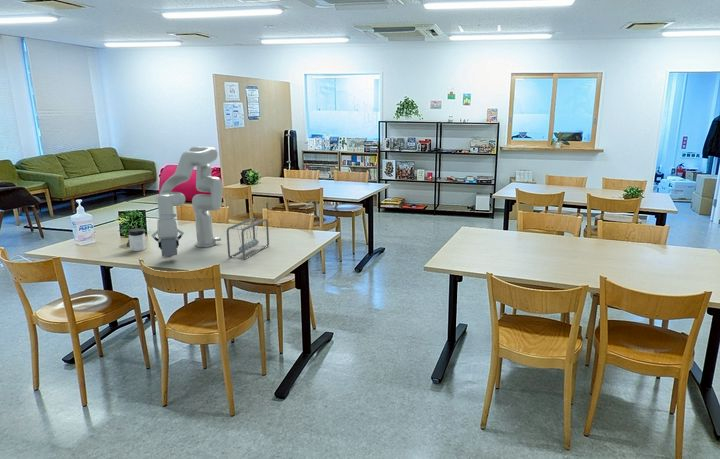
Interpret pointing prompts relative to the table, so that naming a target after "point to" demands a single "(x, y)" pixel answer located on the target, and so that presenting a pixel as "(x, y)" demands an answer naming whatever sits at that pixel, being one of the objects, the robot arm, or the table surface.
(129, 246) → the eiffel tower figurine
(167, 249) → the gray cube
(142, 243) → the jar
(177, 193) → the robot arm
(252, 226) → the newton's cradle
